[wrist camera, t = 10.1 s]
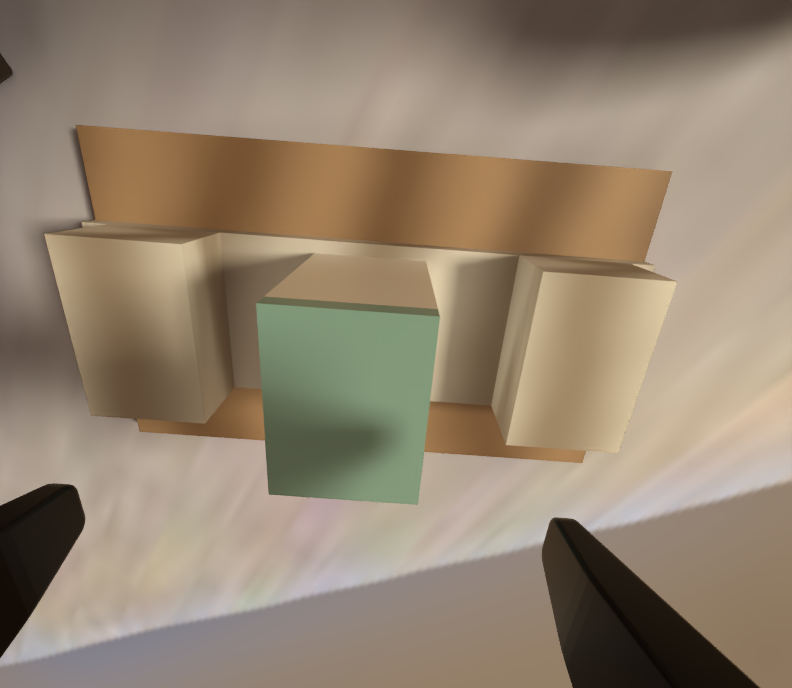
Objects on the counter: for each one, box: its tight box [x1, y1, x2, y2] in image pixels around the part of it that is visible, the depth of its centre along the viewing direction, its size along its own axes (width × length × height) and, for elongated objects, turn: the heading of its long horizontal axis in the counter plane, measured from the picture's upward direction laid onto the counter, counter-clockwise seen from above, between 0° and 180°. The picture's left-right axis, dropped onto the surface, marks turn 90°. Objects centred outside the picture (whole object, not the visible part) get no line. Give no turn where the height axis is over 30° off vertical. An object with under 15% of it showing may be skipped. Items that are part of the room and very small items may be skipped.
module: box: [256, 253, 440, 505], centre depth 14 cm, size 4×6×7 cm
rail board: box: [44, 125, 677, 463], centre depth 17 cm, size 23×14×5 cm, turn 86°
